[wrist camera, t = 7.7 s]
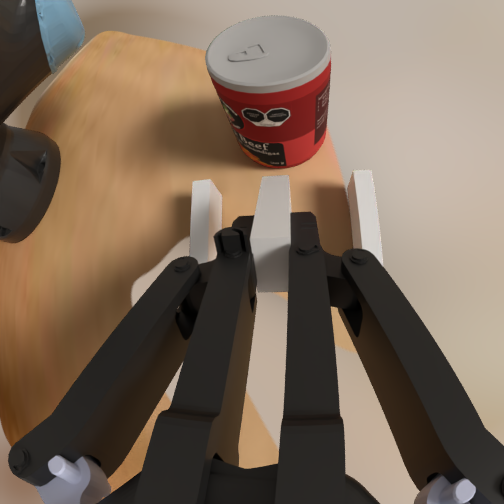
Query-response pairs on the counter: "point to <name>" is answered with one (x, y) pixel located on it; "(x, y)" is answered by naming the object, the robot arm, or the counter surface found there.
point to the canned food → (273, 87)
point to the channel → (210, 216)
